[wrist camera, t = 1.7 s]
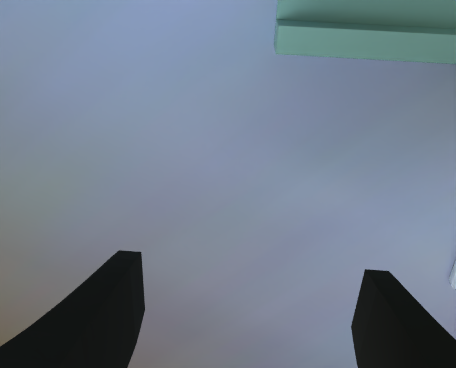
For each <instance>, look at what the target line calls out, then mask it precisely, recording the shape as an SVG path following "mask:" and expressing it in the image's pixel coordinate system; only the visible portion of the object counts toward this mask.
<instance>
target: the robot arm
mask: <svg viewBox="0 0 456 368" xmlns="http://www.w3.org/2000/svg"><path fill="white" fill-rule="evenodd" d="M449 282H450V284H451V286H452V287H453V288H454V289H456V261H455V264H454V266H453V269H452V272H451V275H450V277H449ZM144 311H145V303H144V287H143V272H142V256H141V252H133V251H120V250H119V251H118V252H117V253H115V254H114V255H113V256H112V257H111V258H110V259H109V260H108V261H106V262H105V263H104V264H103V265H102V266H101V267H100V268H99V269H98V270H97V271H95V272H94V273H93V274H92V275H91V276H90V277H89V278H88V279H87V280H85V281H84V282H83V283H82V284H81V285H80V286H79V287H77V288H76V289H75V290H74V291H73V292H72V293H71V294H69V295H68V296H67V297H66V298H65V299H64V300H62V301H61V302H60V303H59V304H58V305H56V306H55V307H54V308H52V309H51V310H50V311H49V312H47V313H46V314H45V315H44V316H42V317H41V318H40V319H38V320H37V321H36V322H35V323H33V324H32V325H31V326H29V327H28V328H27V329H25V330H24V331H22V332H21V333H20V334H18V335H17V336H15V337H14V338H12V339H11V340H9V341H8V342H6V343H5V344H3V345H2V346H0V368H127V367H128V364H129V362H130V359H131V357H132V354H133V351H134V349H135V346H136V343H137V339H138V335H139V332H140V328H141V324H142V320H143V315H144ZM351 328H352V335H353V342H354V349H355V355H356V361H357V365H358V368H456V340H455V339H454V338H453V337H452V336H451V335H450V334H449V333H448V332H447V331H446V330H445V329H444V328H443V327H442V326H441V325H440V324H439V323H438V322H437V321H436V320H435V319H434V318H433V317H432V316H431V315H430V314H429V313H428V312H427V311H426V310H425V309H424V308H423V307H422V306H421V304H420V303H419V302H418V301H417V300H416V299H415V298H414V297H413V296H412V295H411V294H410V293H409V292H408V291H407V290H406V289H405V288H404V287H403V285H402V284H401V283H400V282H399V281H398V280H397V279H396V278H395V277H394V276H393V275H392V274H391V273H390V272H389V271H380V270H367V269H365V272H364V276H363V280H362V284H361V288H360V292H359V297H358V301H357V305H356V309H355V313H354V317H353V321H352V326H351Z"/></svg>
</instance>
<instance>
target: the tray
mask: <svg viewBox="0 0 456 368" xmlns="http://www.w3.org/2000/svg"><path fill="white" fill-rule="evenodd" d="M274 47H275V52H276V54H283V55H301V56H319V57H337V58H355V59H373V60H391V61H409V62H427V63H445V64H456V0H278V4H277V15H276V26H275V37H274Z"/></svg>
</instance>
